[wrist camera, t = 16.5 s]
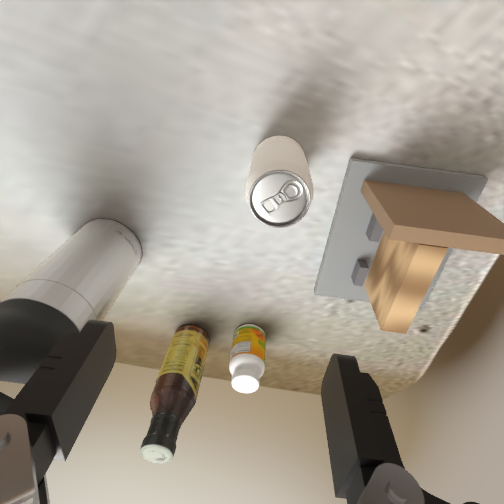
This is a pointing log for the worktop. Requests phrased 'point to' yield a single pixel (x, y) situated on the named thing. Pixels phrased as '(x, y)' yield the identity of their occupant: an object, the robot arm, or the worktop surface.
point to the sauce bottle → (175, 392)
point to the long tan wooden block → (401, 280)
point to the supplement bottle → (247, 358)
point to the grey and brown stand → (401, 220)
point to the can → (279, 182)
